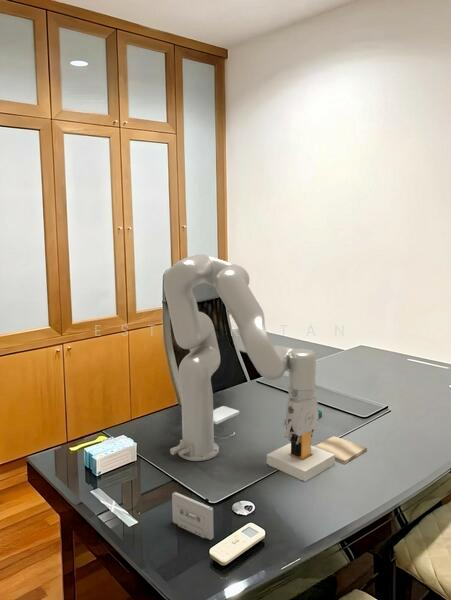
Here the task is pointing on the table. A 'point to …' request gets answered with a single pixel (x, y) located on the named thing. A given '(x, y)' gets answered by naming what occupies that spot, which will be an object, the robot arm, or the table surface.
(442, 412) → the table surface
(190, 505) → the cassette
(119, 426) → the table surface
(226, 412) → the hard drive
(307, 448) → the plug
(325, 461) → the white square holed plate
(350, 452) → the pad
